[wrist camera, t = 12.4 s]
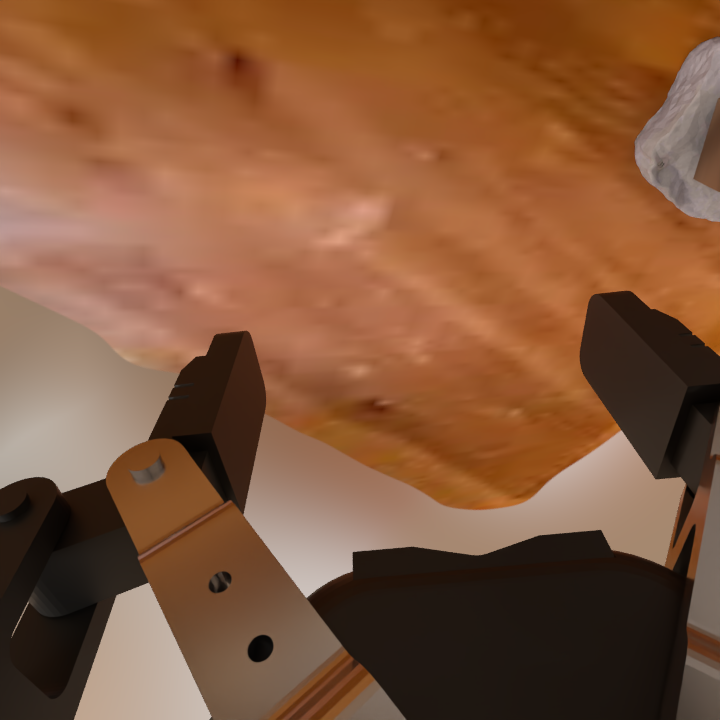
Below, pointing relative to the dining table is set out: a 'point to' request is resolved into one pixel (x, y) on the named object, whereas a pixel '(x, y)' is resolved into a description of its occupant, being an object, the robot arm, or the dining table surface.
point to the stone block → (684, 134)
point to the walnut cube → (711, 154)
